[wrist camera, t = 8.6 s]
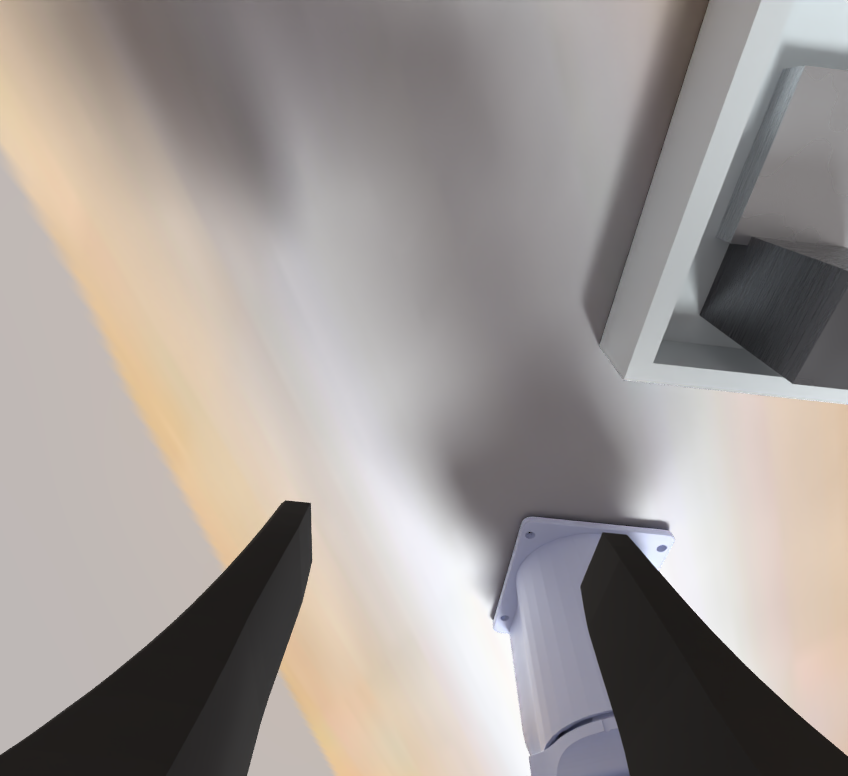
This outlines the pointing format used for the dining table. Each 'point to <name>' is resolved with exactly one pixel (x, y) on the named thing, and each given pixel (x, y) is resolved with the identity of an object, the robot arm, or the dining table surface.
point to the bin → (712, 198)
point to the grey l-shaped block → (791, 235)
